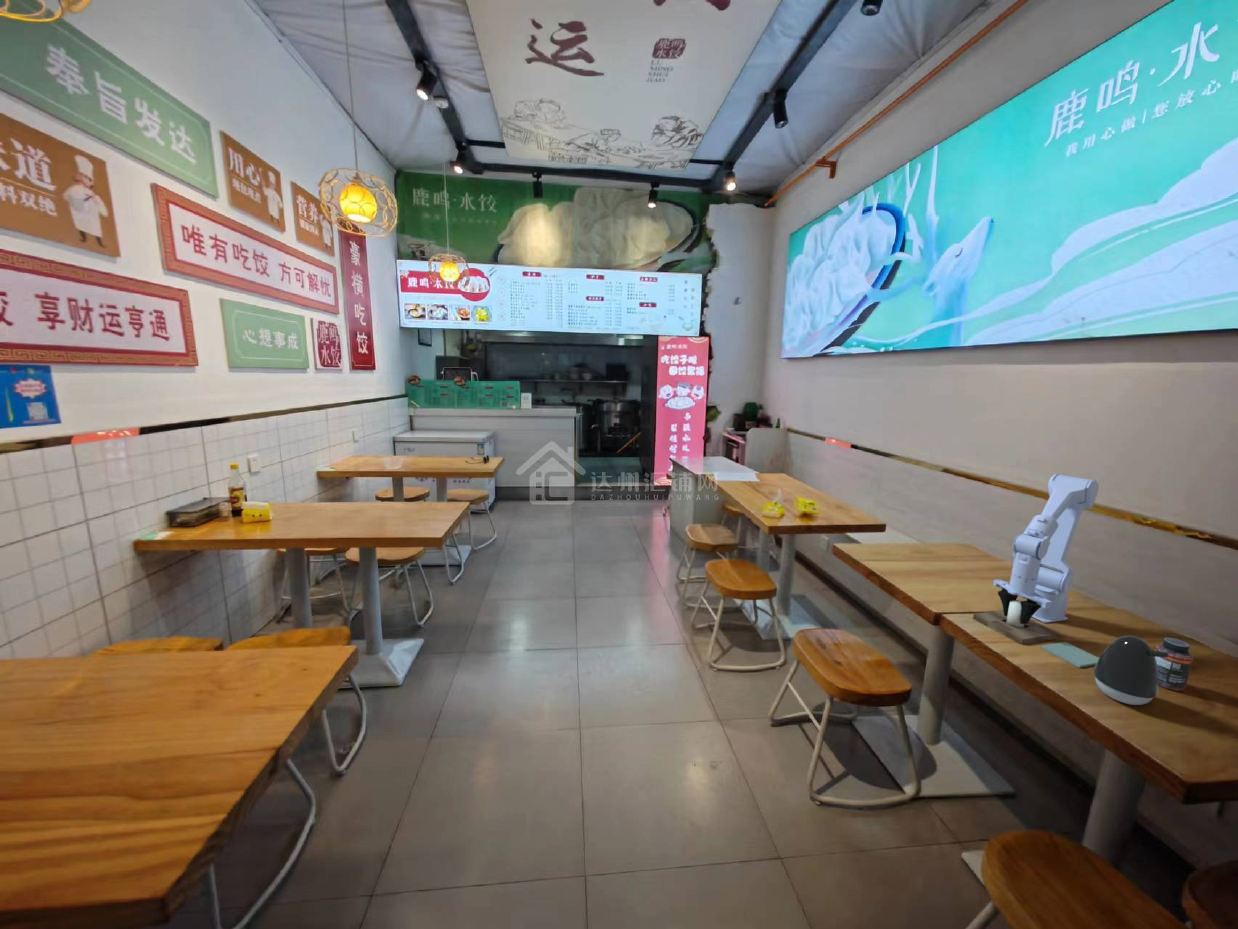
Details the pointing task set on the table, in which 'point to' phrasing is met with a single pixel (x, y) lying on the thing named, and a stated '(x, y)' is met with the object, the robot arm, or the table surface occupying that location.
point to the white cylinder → (1014, 614)
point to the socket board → (1023, 635)
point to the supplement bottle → (1174, 664)
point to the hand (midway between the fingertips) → (1015, 619)
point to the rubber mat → (1071, 654)
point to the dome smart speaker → (1129, 671)
